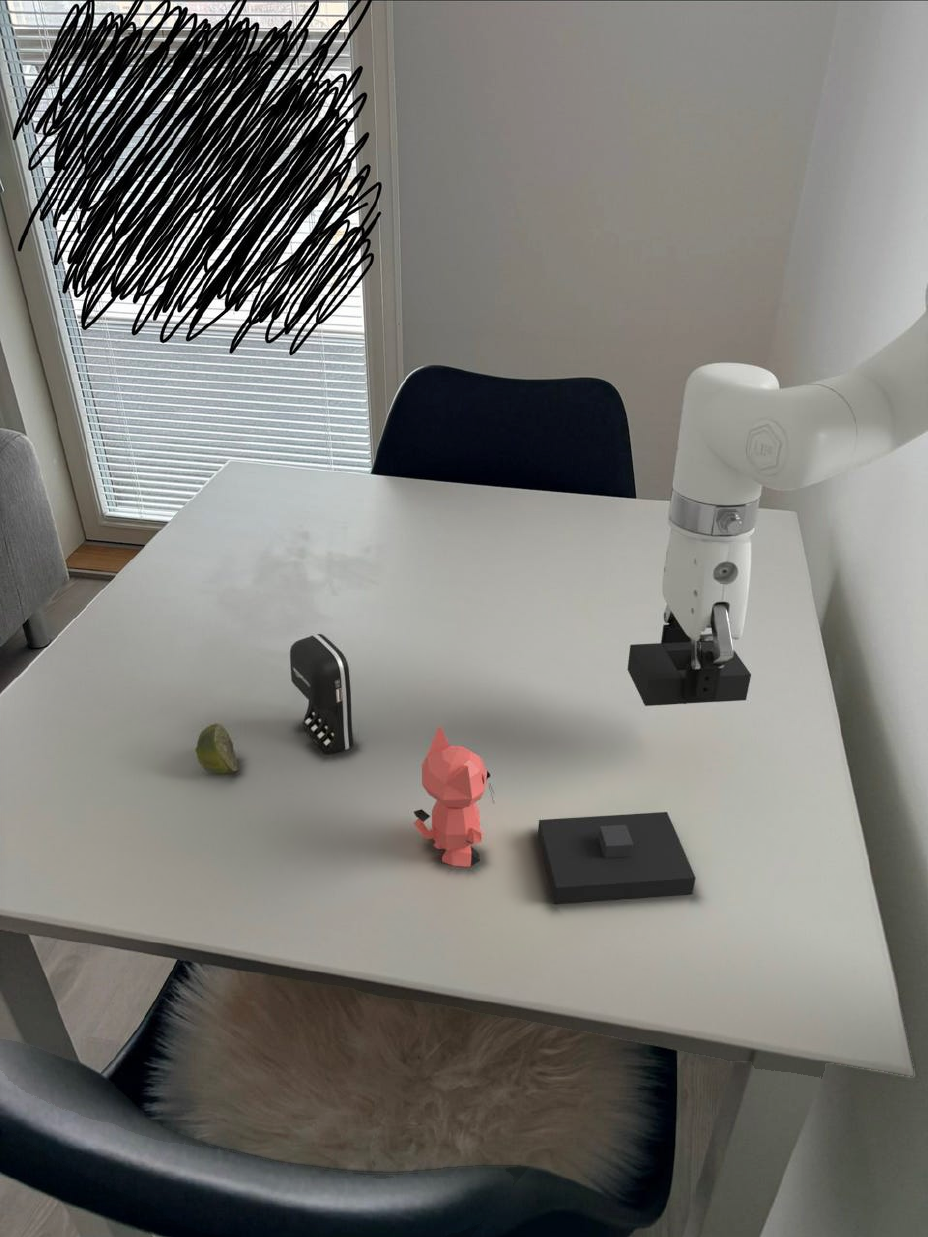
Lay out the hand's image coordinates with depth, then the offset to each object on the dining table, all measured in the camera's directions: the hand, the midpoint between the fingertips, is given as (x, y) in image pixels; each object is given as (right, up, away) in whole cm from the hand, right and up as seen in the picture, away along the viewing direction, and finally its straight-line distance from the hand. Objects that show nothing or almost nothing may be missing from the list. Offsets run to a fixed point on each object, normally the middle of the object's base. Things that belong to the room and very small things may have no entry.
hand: (686, 677), depth 86 cm
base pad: (-9, -16, -9) cm, 20 cm away
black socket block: (0, -1, 0) cm, 1 cm away
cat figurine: (-23, -15, -7) cm, 28 cm away
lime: (-46, -9, +2) cm, 47 cm away
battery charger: (-37, -7, +6) cm, 38 cm away
